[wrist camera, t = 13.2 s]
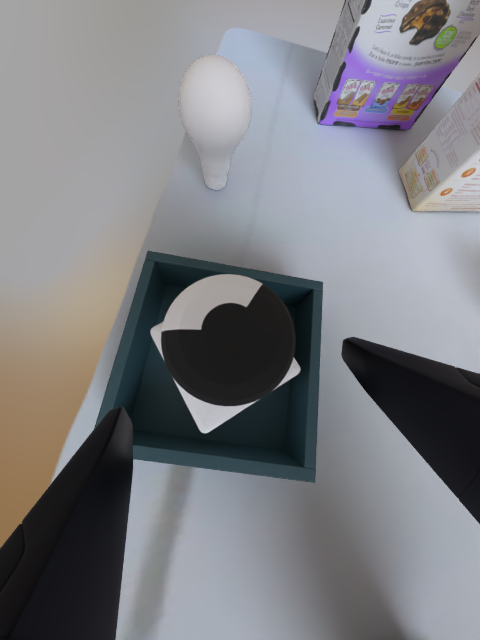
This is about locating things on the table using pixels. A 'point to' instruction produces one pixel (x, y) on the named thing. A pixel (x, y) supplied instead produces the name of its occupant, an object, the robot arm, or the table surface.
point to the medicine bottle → (226, 346)
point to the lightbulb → (215, 113)
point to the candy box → (392, 59)
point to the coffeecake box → (448, 160)
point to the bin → (245, 427)
